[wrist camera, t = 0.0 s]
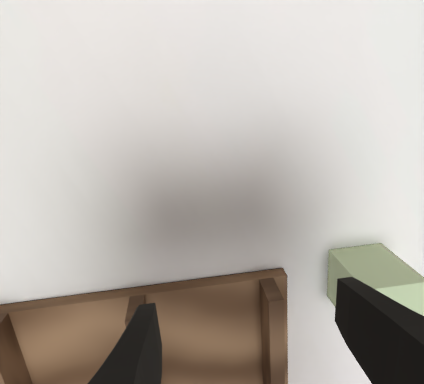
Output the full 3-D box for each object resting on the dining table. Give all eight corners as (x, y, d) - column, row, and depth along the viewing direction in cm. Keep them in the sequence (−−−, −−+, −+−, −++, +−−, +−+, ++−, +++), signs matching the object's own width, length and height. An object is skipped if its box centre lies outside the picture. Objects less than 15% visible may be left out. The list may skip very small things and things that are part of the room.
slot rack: (284, 406, 29) (298, 448, 26) (36, 446, 27) (17, 496, 24) (282, 267, 24) (299, 297, 21) (-16, 306, 23) (-48, 345, 20)
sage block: (376, 288, 26) (420, 334, 21) (326, 294, 26) (360, 343, 21) (380, 242, 25) (428, 281, 20) (328, 249, 24) (365, 290, 20)
